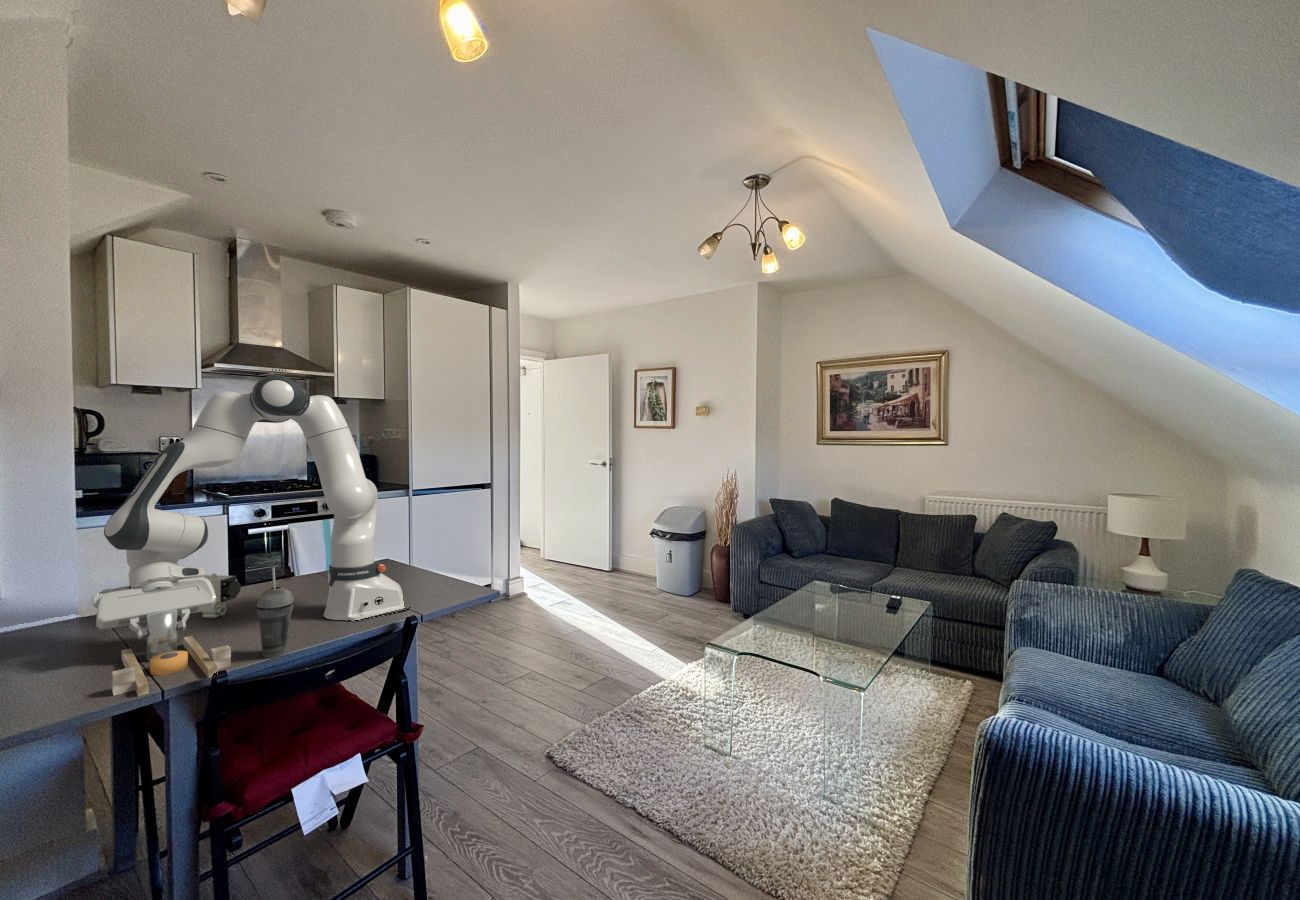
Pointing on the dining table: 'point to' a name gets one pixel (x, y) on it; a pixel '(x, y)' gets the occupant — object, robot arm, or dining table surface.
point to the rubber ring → (168, 663)
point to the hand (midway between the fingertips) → (162, 633)
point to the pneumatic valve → (222, 593)
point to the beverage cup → (275, 619)
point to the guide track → (137, 681)
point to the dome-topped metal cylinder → (161, 632)
